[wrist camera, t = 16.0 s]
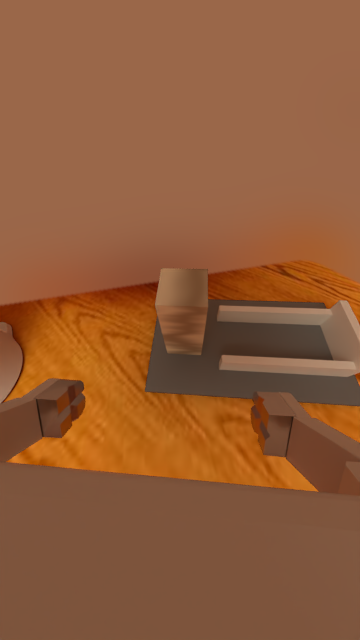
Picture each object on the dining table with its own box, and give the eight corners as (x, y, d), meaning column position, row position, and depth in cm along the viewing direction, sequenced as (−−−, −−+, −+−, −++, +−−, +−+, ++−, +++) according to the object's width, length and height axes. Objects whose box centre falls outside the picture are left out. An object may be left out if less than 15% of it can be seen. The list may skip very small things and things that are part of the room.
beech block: (167, 353, 28) (154, 305, 18) (170, 324, 30) (161, 268, 20) (201, 355, 27) (208, 306, 17) (201, 325, 30) (207, 269, 20)
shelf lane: (145, 391, 25) (136, 381, 21) (160, 299, 34) (156, 277, 29) (364, 406, 23) (408, 399, 19) (322, 304, 32) (344, 282, 27)
